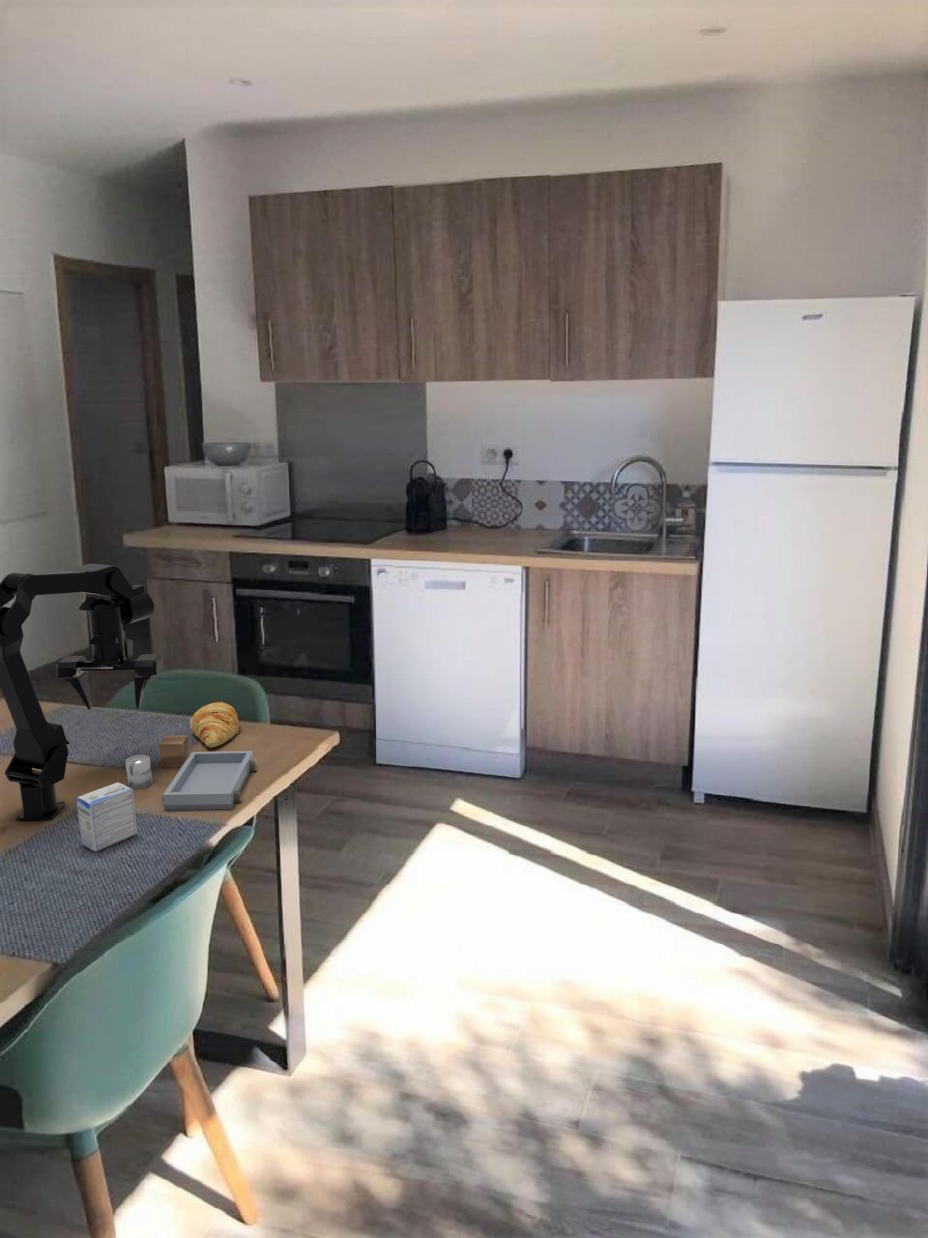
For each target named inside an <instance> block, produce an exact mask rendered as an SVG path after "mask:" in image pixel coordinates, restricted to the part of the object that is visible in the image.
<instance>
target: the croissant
mask: <svg viewBox="0 0 928 1238" xmlns="http://www.w3.org/2000/svg"><path fill="white" fill-rule="evenodd" d="M236 711H237V710H236V709H235V708H234V707H233V706H232V705H230V704H228V703H226V702H223V701H215V702H212V703H209V704H206V705H203V706H202V707H201V708H199V709H198V710H197V711H196V712H194V714H193V715H192V716H191V718H190V719H189V726H190V729H191V731H192V732H193V734H194V736H195V737H197V738H198V739H199V740H200V742H201V743H204V745H205V746H206V747H207V748H210V749H211V748H216V747H219V746H220V745H223V744H225V743H226V742H227V741H229V740H231V739H232V738H233V737H234V736H236V735H238V733H239V732H240V731H239V730H240V727H239V725H240V724H239V717H238V713H237V712H236Z"/></svg>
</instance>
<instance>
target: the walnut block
mask: <svg viewBox="0 0 928 1238" xmlns="http://www.w3.org/2000/svg"><path fill="white" fill-rule="evenodd" d="M189 743H190V742H189V735H188V734H187V735H183V734H182V735H164V737H163V738H162V739H161V741H160V742H159V743H158V748H159V757H160V758H159V759H160V768H181V767H182V766H183V765H184V763H185V762H186V760H187V759H188V757H189V756H190V754H191V752H190V746H189V745H190V744H189Z"/></svg>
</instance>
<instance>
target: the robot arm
mask: <svg viewBox="0 0 928 1238" xmlns="http://www.w3.org/2000/svg"><path fill="white" fill-rule="evenodd" d="M72 593H80V594H86V595H87V594H88V595H96V596H101V598H96V597H90V596H88V597H86V599H85V601H83V602H82V603H81V604H80V606H79V607H78V610H79V611H83V612H88V617H89V625H90V626H89V627H90V637H91V638H89V645H91V647H92V660H87V658H86V657H85V655H66V656H65V657H63V659H61V660H59V662H57V664H56V665H55V675H56V678H58V679H59V678H62V679H63V678H64V679H63V681H64V682H65V683H69V684H70V686H72V687H73V689H74V690H75V691H76V693H77V694H78V696H79V697H80V698H81V701H82V702H83V704H84V705H85V707H86V708H87V710H89V711H90V710H92V708H93V701H92V696H91V688H90V685H89V684H90V683H89V672H90V671H91V672H95V671H97V672H98V671H102V672H103V671H134V673H136V675H135V676H134V677H133V682H134V684H133V685H134V698H135V701H134V702H135V706H136V709H140V708H141V705H142V701H143V697H144V695H145V690H146V686H147V684H148V682H149V680H151V679H152V678H153V677H154V676H157V675H158V674H159V673H160V672H161V671H162V670H163V668H164V659H163V657H162V656H161V655H160V654H159V653H157V654H156V653H153V654H152V653H151V654H149V653H147V654H145V653H142V654H140V655H139V656H138V657H137V658H136V659H128V658H130V657H133V653H134V652H133V651H134V650H133V649H134V647H133V646H134V640H132V639H129V638H126V632H125V630H124V629H123V625H130V624H132V623H135V622H139V621H141V620H145V619H148V618H150V617H151V616H152V615H153V613H154V611H155V603H154V601H153V599H152V597H151V595H149V593H148V592H146V590H145V586H144V585H143V584H142V585H141V584H139V585H138V584H134V585H131V584H130V582H129V581H128V580H127V578H126V576H124V574H123V572H122V570H121V568H120V567H119V566H118V565H111V564H99V563H86V564H84V565H83V564H82V565H80V566H77V567H75V568H74V569H70V570H68V571H66V570H64V571H45V572H25V573H24V572H15V571H14V572H10V573H8V574H6V576H5V577H4V578H3V579H2V580H1V581H0V690H1V692H2V693H1V694H2V695H3V697H4V701H5V703H6V705H7V709H8V710H9V714H10V715H11V718H12V720H13V723H14V726H15V734H14V738H13V748H14V754H13V757H11V760H10V762H9V764H8V766H7V767H6V769H5V771H4V775H5V778H6V779H7V780H8V782H11V783H17V784H19V785H18V786H19V793H20V799H21V800H20V801H21V805H22V807H21V808H22V810H21V811H20V812H19V813H18V814H17V815H15V817H14V818H15V820H16V821H39V820H40V821H41V820H44V821H45V820H46V821H47V820H53V819H54V818H55V816H57V815H58V813H59V812H60V811H61V810H62V809H63V808H64V806H65V805H66V802H65V801H58V799H57V792H56V791H57V790H56V784H57V783H59V782H61V781H63V780H64V779H65V774H66V768H67V761H68V757H69V747H68V745H70V741H69V740H68V739H67V737H66V735H65V730H64V727H63V726H62V725H61V724H57V723H52V722H48V720H47V719H46V716H45V713H44V712H43V711H44V710H43V709H42V706H41V703H40V701H39V699H38V698H39V697H38V695H37V693H36V691H35V687H34V685H33V683H32V680H31V677H30V675H29V671H28V668H27V666H26V662H25V660H24V657H23V656H22V653H21V648H22V643H23V641H24V640H23V639H24V632H23V631H24V630H23V627H22V625H23V624H24V623H25V622H26V620H27V619H28V618H29V616H30V615H31V610H32V604H33V600H34V599H35V597H37V596H44V595H59V594H61V595H62V594H72ZM102 596H103V597H102ZM108 597H109V598H108ZM14 598H15V599H14ZM13 599H14V601H13V603H12V604H11V606H10V607H8V606H5V605H7V604H8V603H9V602H10V601H12V600H13Z"/></svg>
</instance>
